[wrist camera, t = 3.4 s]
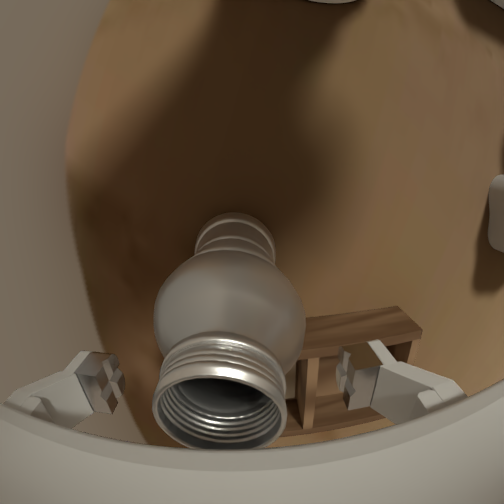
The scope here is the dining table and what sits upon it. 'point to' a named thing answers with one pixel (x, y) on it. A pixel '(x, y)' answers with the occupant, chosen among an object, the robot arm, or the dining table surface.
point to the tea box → (499, 3)
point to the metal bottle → (227, 339)
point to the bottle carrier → (326, 359)
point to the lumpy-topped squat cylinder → (496, 213)
